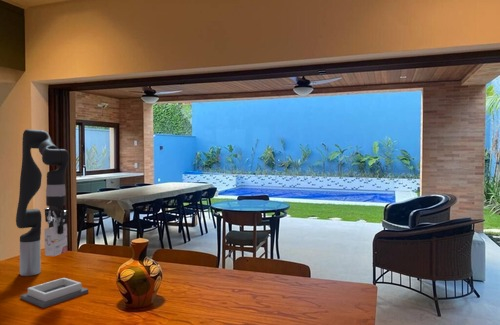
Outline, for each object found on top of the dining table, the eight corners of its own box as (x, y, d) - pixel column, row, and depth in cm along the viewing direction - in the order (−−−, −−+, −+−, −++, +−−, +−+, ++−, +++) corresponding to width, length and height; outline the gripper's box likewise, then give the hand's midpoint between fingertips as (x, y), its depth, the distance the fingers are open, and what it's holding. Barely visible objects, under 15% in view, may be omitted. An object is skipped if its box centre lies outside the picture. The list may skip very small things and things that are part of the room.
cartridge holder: (20, 298, 160) (20, 288, 160) (65, 284, 177) (65, 275, 176) (43, 308, 150) (43, 297, 150) (88, 292, 167) (88, 282, 167)
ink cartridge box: (58, 250, 168) (57, 218, 168) (67, 251, 167) (67, 218, 167) (44, 255, 160) (43, 221, 159) (54, 256, 159) (54, 222, 158)
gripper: (38, 194, 163) (38, 232, 164) (57, 196, 156) (57, 236, 156) (54, 193, 170) (55, 229, 170) (73, 195, 162) (73, 233, 163)
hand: (56, 232), depth 163 cm, fingers closed on ink cartridge box, 6 cm apart
